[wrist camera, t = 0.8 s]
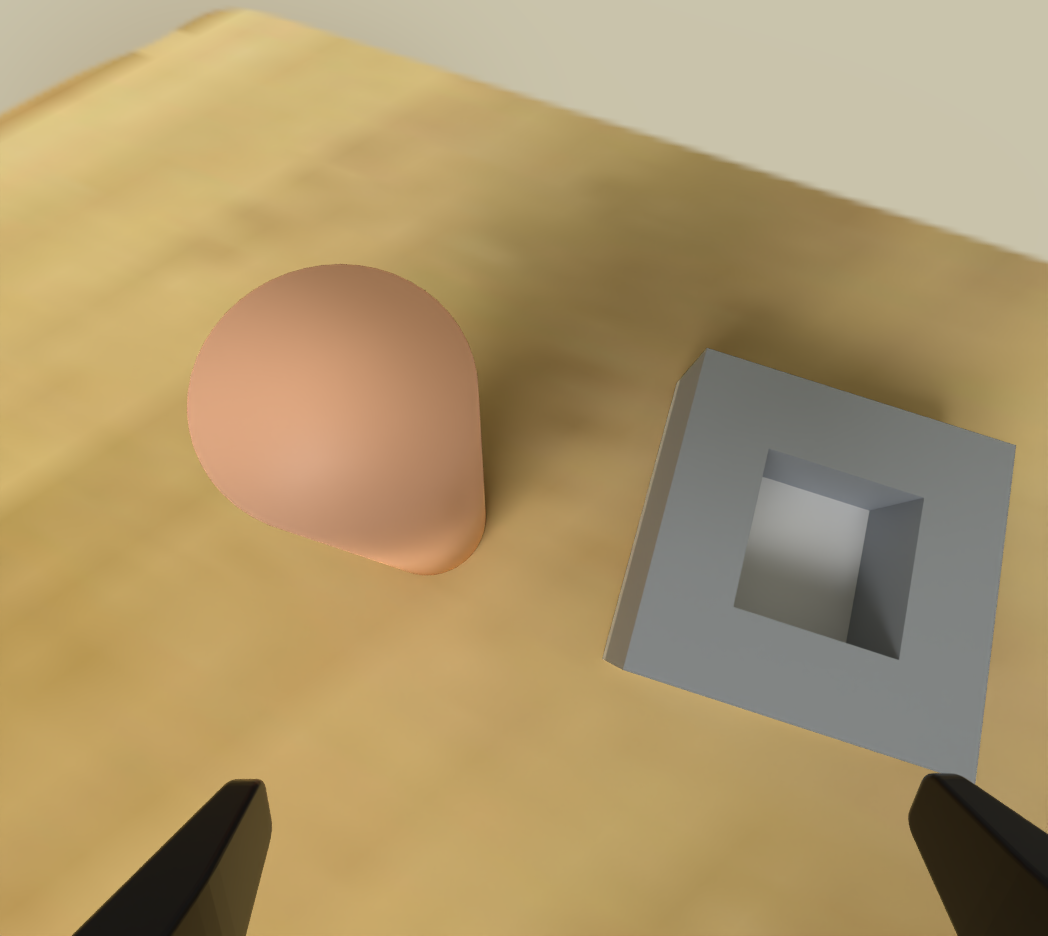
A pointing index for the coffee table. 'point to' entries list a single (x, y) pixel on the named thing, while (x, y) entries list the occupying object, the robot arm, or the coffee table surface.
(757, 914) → the coffee table surface
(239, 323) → the pin
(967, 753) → the socket block
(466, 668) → the coffee table surface
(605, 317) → the coffee table surface
